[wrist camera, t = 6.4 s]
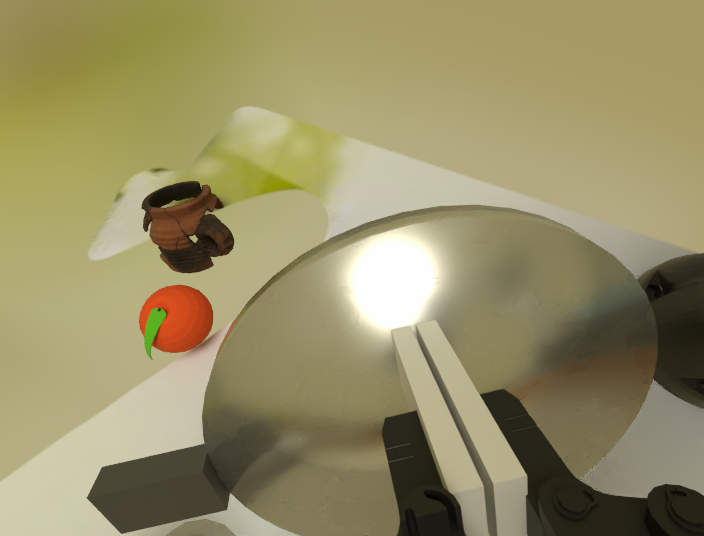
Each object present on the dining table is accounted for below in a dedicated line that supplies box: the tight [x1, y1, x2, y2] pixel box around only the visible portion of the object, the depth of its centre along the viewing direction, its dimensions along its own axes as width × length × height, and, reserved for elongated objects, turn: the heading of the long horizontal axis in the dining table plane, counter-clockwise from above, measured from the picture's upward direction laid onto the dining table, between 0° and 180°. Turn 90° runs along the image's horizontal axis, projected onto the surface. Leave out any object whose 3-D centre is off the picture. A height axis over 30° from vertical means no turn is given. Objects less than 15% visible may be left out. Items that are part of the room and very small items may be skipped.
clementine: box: [139, 285, 213, 359], centre depth 39 cm, size 8×7×7 cm
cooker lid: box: [87, 205, 658, 536], centre depth 18 cm, size 26×21×2 cm
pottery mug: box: [142, 181, 234, 273], centre depth 44 cm, size 12×10×8 cm
